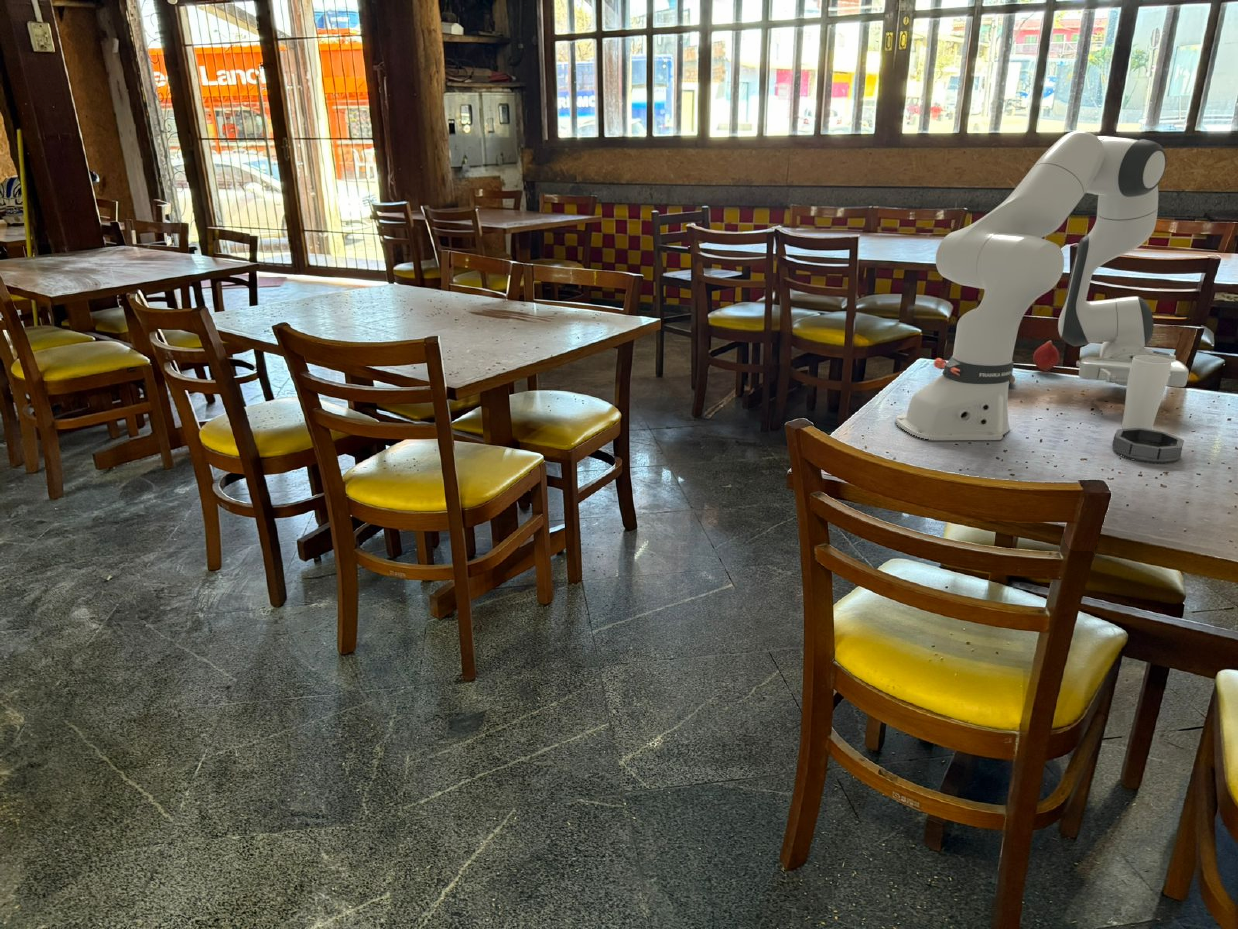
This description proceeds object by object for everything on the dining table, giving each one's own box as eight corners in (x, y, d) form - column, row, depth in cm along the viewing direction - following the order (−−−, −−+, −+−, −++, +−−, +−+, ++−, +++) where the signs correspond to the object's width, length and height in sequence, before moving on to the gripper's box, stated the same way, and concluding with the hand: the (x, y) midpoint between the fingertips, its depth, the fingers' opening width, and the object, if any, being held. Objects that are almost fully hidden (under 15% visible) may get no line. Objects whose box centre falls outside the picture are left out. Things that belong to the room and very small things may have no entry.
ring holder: (1140, 465, 153) (1144, 450, 152) (1099, 445, 163) (1102, 430, 162) (1194, 461, 154) (1198, 446, 153) (1149, 441, 164) (1152, 426, 163)
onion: (1027, 371, 211) (1033, 340, 209) (1035, 367, 215) (1040, 336, 212) (1052, 376, 208) (1057, 344, 205) (1059, 371, 212) (1065, 340, 209)
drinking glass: (1152, 439, 165) (1170, 365, 160) (1114, 432, 169) (1129, 360, 164) (1157, 430, 170) (1174, 358, 165) (1119, 423, 174) (1135, 353, 169)
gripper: (1077, 347, 190) (1083, 361, 178) (1183, 354, 182) (1196, 370, 170) (1072, 374, 192) (1078, 390, 180) (1176, 382, 185) (1189, 400, 173)
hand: (1136, 381), depth 175 cm, fingers open, 8 cm apart
